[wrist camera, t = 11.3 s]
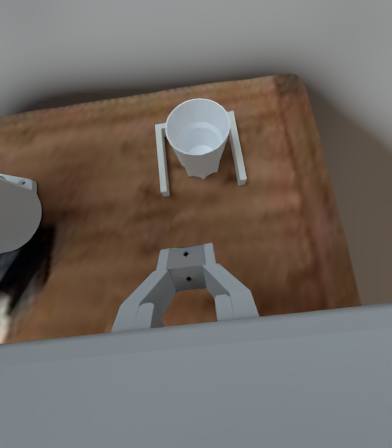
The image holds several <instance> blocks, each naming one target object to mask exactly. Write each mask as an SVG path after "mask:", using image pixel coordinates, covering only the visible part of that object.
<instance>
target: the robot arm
mask: <svg viewBox="0 0 392 448" xmlns="http://www.w3.org/2000/svg"><path fill="white" fill-rule="evenodd" d="M41 214H42V209H41V203H40V200H39V198H38V196H37V183H36V182H35V181H34V180H31V179H26V178H21V177H15V176H10V175H4V174H0V254H1V253H5V252H10V251H13V250H16V249H18V248H20V247H21V246H23V245H24V244H25V243H27V242H28V241H29V240H30V239H31V237H32V236H33V235H34V233H35V232H36V230H37V228H38V226H39V223H40V220H41ZM205 288H207V290H208V291H209V293H210V294H211V295H212V297H213V298H214V299H215V305H216V314H217V321H215V322H206V323H196V324H187V325H177V326H168V327H165V326H164V324H163V322H162V320H161V317H162V316H163V314H164V312H165V311H166V309H167V308H168V306H169V304H170V303H171V301H172V299H173V298H174V296H175V295H176V292H179V291H186V290H194V289H205ZM0 448H392V303H385V304H375V305H367V306H356V307H347V308H338V309H328V310H319V311H309V312H300V313H290V314H281V315H271V316H262V317H259V314H258V312H257V309H256V306H255V303H254V300H253V297H252V294H251V291H250V290H249V289H248V288H247V287H245V286H244V285H243V284H242V283H241V282H240V281H239V280H237V279H236V278H235V277H234V276H233V275H232V274H230V273H229V272H228V271H227V270H226V269H225V268H224V267H222V266H221V265H220V264H219V263H218V264H216V260H215V254H214V249H213V244H212V243H207V244H204V245H203V244H202V245H195V246H187V247H178V248H170V249H161V251H160V254H159V259H158V263H157V268H156V271H153V272H152V273H151V274H150V275H149V276H148V277H147V278H146V279H145V281H144V282H143V283H142V284H141V285H140V286H139V287H138V288H137V289H136V290H135V291H134V292H133V293H132V294H131V295H130V296H129V297H128V298H127V299H126V300H125V301H124V302H123V303H122V304H121V305H120V308H119V311H118V314H117V316H116V319H115V322H114V325H113V328H112V330H111V333H102V334H92V335H83V336H73V337H64V338H54V339H45V340H35V341H26V342H16V343H7V344H0Z"/></svg>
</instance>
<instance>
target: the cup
mask: <svg viewBox="0 0 392 448" xmlns="http://www.w3.org/2000/svg"><path fill="white" fill-rule="evenodd" d="M229 130H230V119H229V116H228V114H227V112H226V111H225V109H224V108H223V107H222V106H221V105H219V104H218V103H217V102H214V101H212V100H209V99H192V100H189V101H185V102H183V103H182V104H180V105H178V106H177V107H176V108H175V109H174V110H173V111H172V112H171V113H170V115H169V117H168V119H167V122H166V127H165V132H166V136H167V139H168V141H169V143H170V145H171V146H172V148H173V150H174V152H175V153H176V155H177V157H178V159H179V161H180V164H181V165H182V166H184V167H185V169H186V172H187V174H188V176H189V177H190V176H195V177H200V178H202V179H203V180H204V179H205V178H206V176H208V175H210V174H212V173H214V172H218V167H219V162H220V159H221V156H222V153H223V150H224V147H225V144H226V141H227V137H228V134H229Z"/></svg>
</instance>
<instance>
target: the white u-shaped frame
mask: <svg viewBox="0 0 392 448" xmlns="http://www.w3.org/2000/svg"><path fill="white" fill-rule="evenodd" d="M227 114H228V116H229V119H230V130H229V138H230V144H231V149H232V155H233V160H234V165H235V171H236V176H237V182H238V186H241V185H245V182H246V180H247V177H246V172H245V167H244V162H243V157H242V152H241V147H240V142H239V137H238V132H237V127H236V122H235V117H234V112H233V111H231V112H227ZM165 127H166V123H162V124H156V125H155V130H156V142H157V154H158V166H159V177H160V189H161V193H162V195H163V196H164V197H166V196H170V191H169V181H168V170H167V160H166V149H165V139H164V137H167V136H166V132H165Z"/></svg>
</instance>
